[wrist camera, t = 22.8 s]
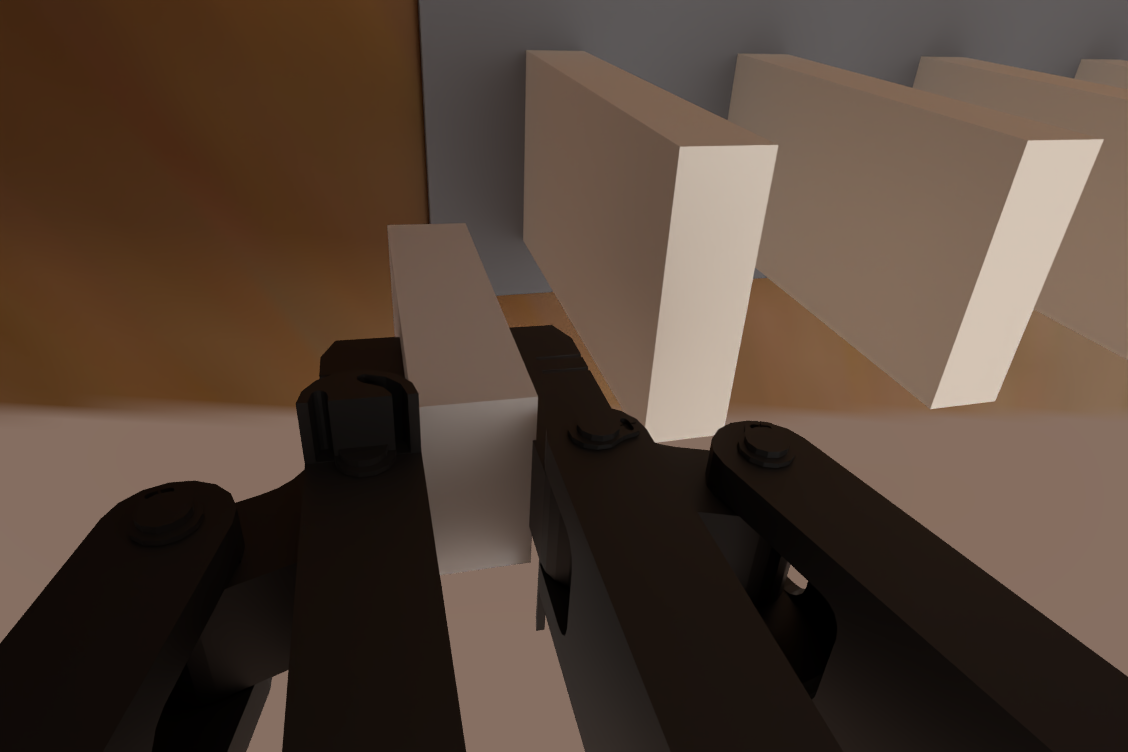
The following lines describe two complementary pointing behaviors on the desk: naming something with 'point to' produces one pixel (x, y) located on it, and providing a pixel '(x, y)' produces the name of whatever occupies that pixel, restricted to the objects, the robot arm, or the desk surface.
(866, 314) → the domino
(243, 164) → the desk surface
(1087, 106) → the domino
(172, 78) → the desk surface
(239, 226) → the desk surface
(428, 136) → the runway mat
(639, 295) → the domino
